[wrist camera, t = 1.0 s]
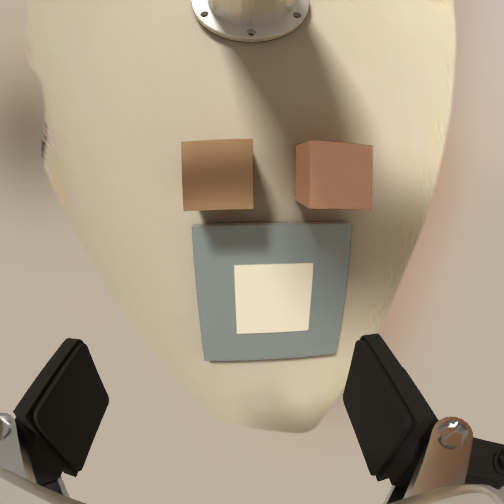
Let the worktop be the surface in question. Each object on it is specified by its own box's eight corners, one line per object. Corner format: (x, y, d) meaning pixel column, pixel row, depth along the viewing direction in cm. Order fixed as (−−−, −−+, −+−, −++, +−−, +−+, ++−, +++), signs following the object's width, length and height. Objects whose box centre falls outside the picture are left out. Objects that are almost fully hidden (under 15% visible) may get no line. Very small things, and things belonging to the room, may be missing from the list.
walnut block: (193, 147, 26) (181, 142, 20) (249, 145, 26) (252, 138, 21) (195, 201, 28) (183, 211, 22) (250, 200, 28) (253, 208, 22)
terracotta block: (295, 145, 26) (310, 140, 21) (347, 148, 27) (372, 145, 21) (295, 200, 28) (309, 208, 22) (346, 200, 28) (370, 209, 23)
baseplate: (193, 224, 28) (191, 227, 27) (347, 222, 29) (352, 224, 28) (205, 354, 33) (204, 361, 32) (333, 348, 34) (336, 354, 32)
